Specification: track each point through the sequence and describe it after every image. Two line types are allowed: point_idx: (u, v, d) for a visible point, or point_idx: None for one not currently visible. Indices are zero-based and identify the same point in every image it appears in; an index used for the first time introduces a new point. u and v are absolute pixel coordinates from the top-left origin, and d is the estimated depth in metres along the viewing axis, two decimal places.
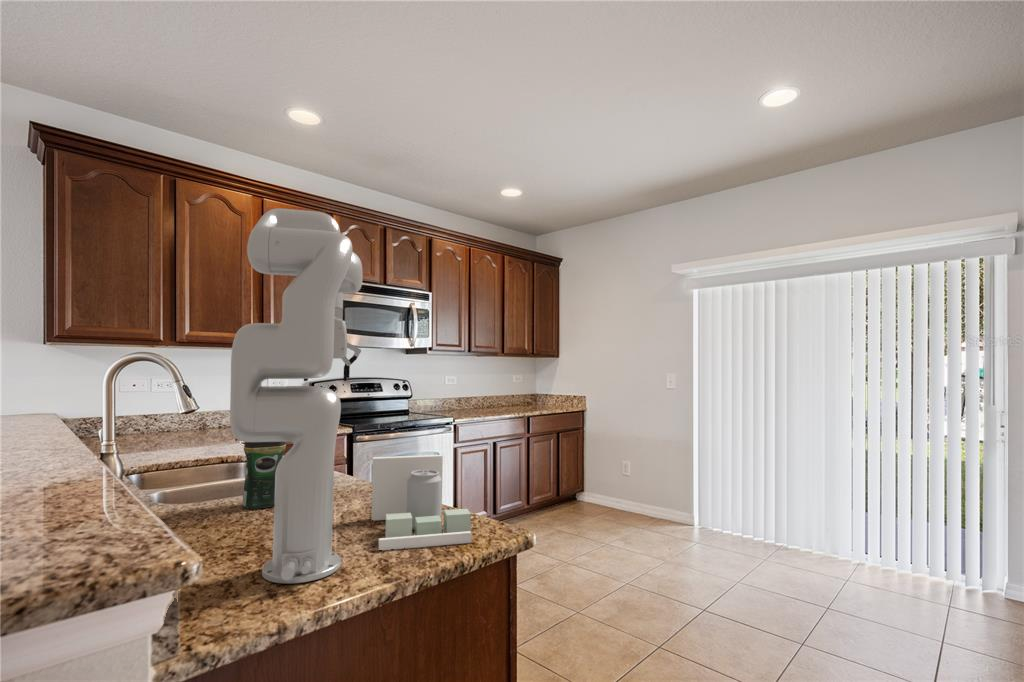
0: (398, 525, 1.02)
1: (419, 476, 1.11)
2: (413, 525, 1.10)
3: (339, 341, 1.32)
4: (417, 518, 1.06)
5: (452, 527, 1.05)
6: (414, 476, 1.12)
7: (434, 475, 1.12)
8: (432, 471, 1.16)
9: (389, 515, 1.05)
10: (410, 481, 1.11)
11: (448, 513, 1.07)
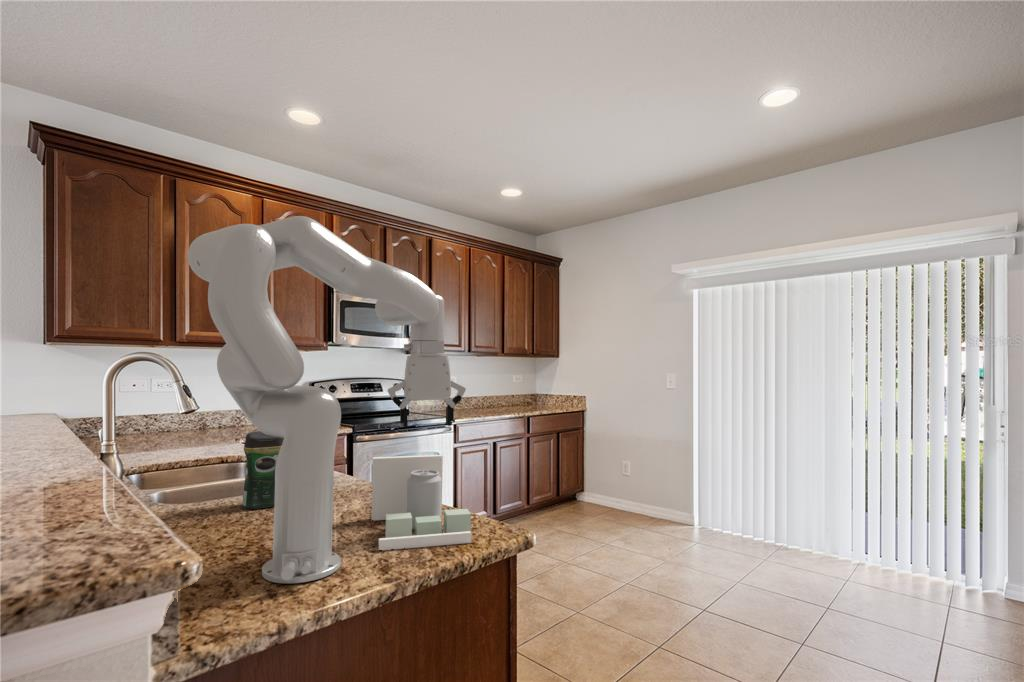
0: (398, 525, 1.02)
1: (419, 476, 1.11)
2: (413, 525, 1.10)
3: (443, 380, 1.14)
4: (417, 518, 1.06)
5: (452, 527, 1.05)
6: (414, 476, 1.12)
7: (434, 475, 1.12)
8: (432, 471, 1.16)
9: (389, 515, 1.05)
10: (410, 481, 1.11)
11: (448, 513, 1.07)
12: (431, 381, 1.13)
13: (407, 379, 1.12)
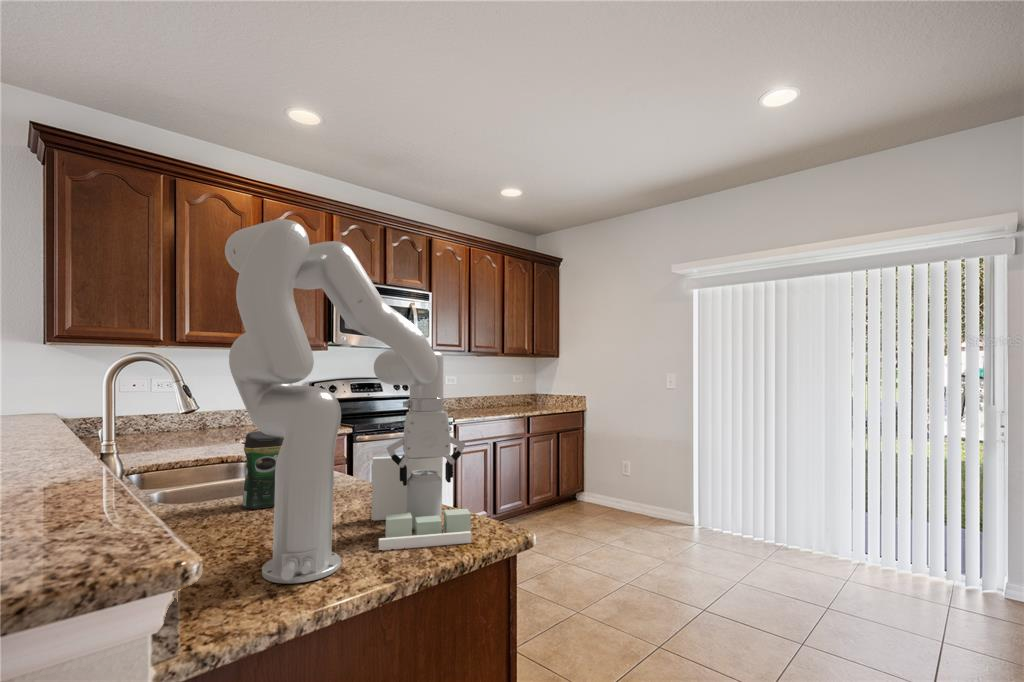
0: (398, 525, 1.02)
1: (419, 476, 1.11)
2: (413, 525, 1.10)
3: (442, 437, 1.13)
4: (417, 518, 1.06)
5: (452, 527, 1.05)
6: (414, 476, 1.12)
7: (434, 475, 1.12)
8: (432, 471, 1.16)
9: (389, 515, 1.05)
10: (410, 481, 1.11)
11: (448, 513, 1.07)
12: (430, 439, 1.12)
13: (406, 438, 1.11)
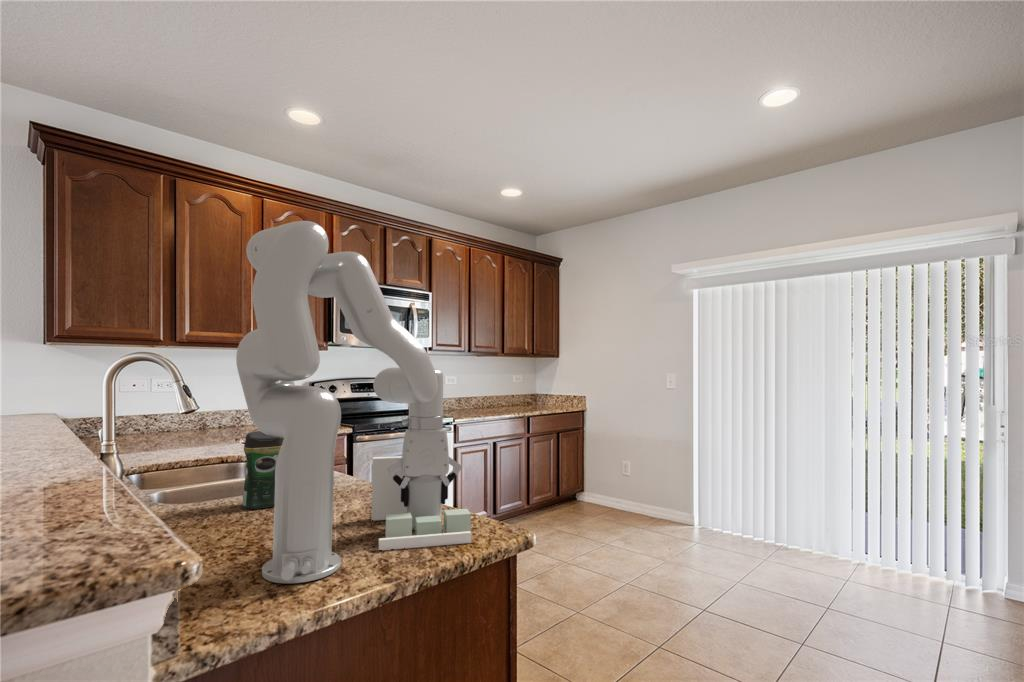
0: (398, 525, 1.02)
1: None
2: (413, 525, 1.10)
3: (441, 456, 1.13)
4: (417, 518, 1.06)
5: (452, 527, 1.05)
6: None
7: None
8: None
9: (389, 515, 1.05)
10: (410, 481, 1.11)
11: (448, 513, 1.07)
12: (429, 458, 1.12)
13: (405, 456, 1.11)
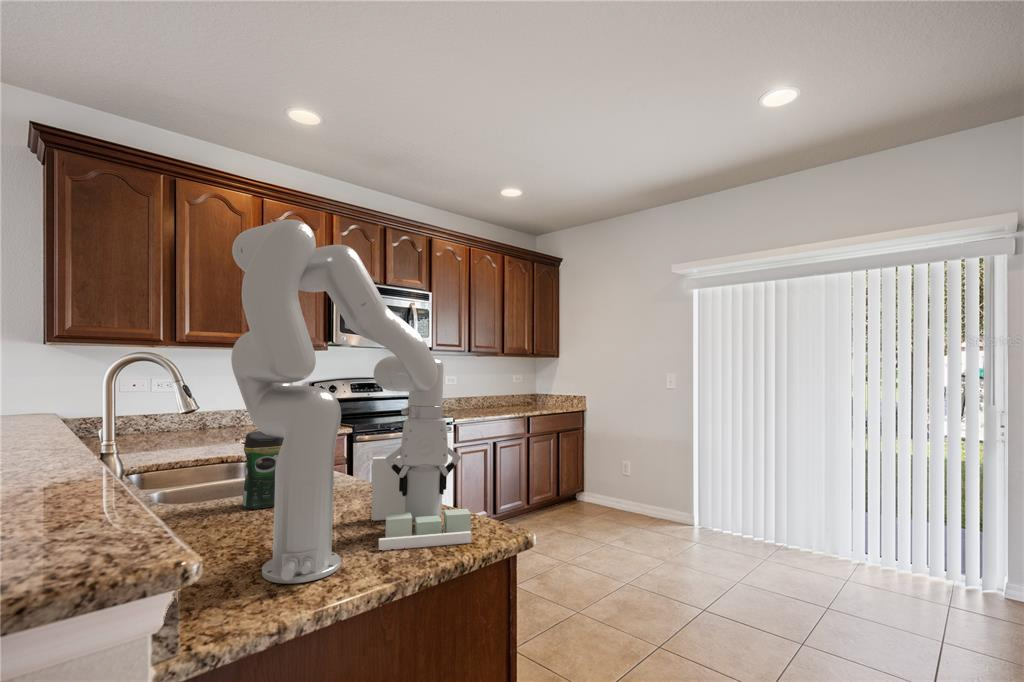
0: (398, 525, 1.02)
1: None
2: (411, 514, 1.10)
3: (440, 446, 1.12)
4: (417, 518, 1.06)
5: (452, 527, 1.05)
6: None
7: None
8: None
9: (389, 515, 1.05)
10: (409, 470, 1.11)
11: (448, 513, 1.07)
12: (428, 447, 1.12)
13: (404, 445, 1.10)
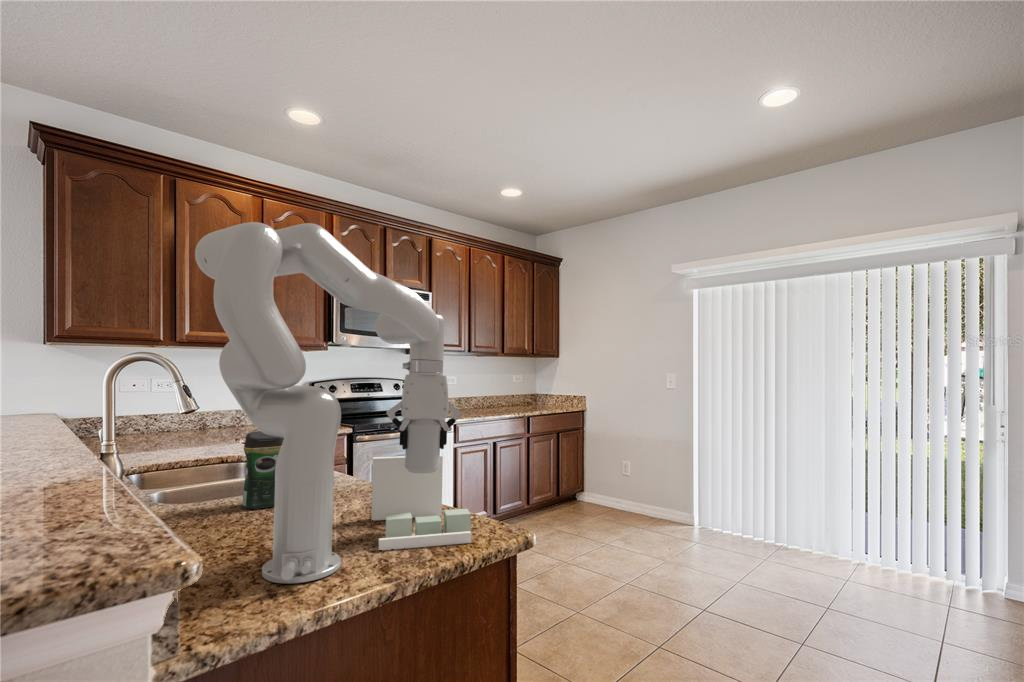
0: (398, 525, 1.02)
1: None
2: (411, 467, 1.10)
3: (441, 400, 1.13)
4: (417, 518, 1.06)
5: (452, 527, 1.05)
6: None
7: None
8: None
9: (389, 515, 1.05)
10: (410, 424, 1.11)
11: (448, 513, 1.07)
12: (429, 401, 1.12)
13: (404, 398, 1.11)
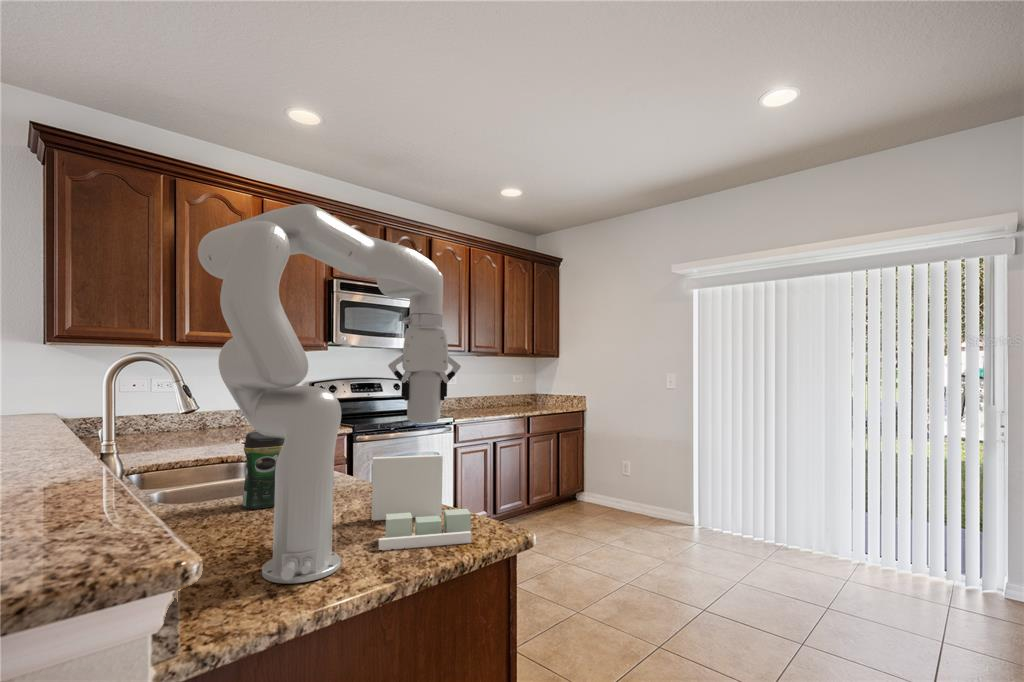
0: (398, 525, 1.02)
1: None
2: (413, 417, 1.14)
3: (441, 353, 1.16)
4: (417, 518, 1.06)
5: (452, 527, 1.05)
6: (415, 372, 1.16)
7: None
8: None
9: (389, 515, 1.05)
10: (411, 376, 1.15)
11: (448, 513, 1.07)
12: (429, 353, 1.16)
13: (405, 351, 1.15)
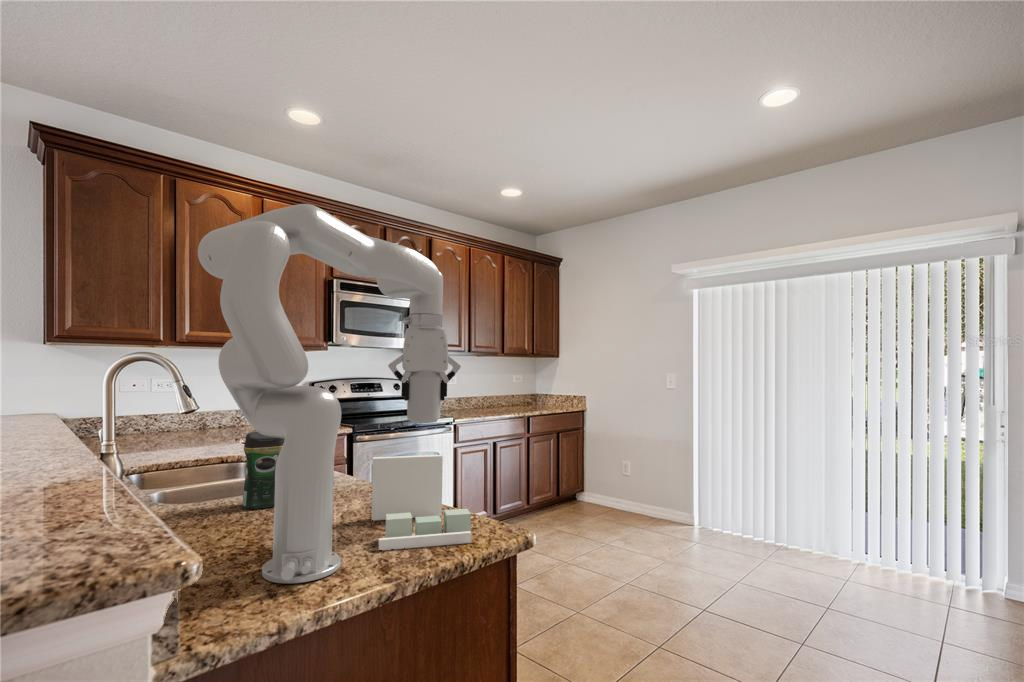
0: (398, 525, 1.02)
1: None
2: (413, 417, 1.14)
3: (441, 353, 1.16)
4: (417, 518, 1.06)
5: (452, 527, 1.05)
6: (415, 372, 1.16)
7: None
8: None
9: (389, 515, 1.05)
10: (411, 376, 1.15)
11: (448, 513, 1.07)
12: (429, 353, 1.16)
13: (405, 351, 1.15)
